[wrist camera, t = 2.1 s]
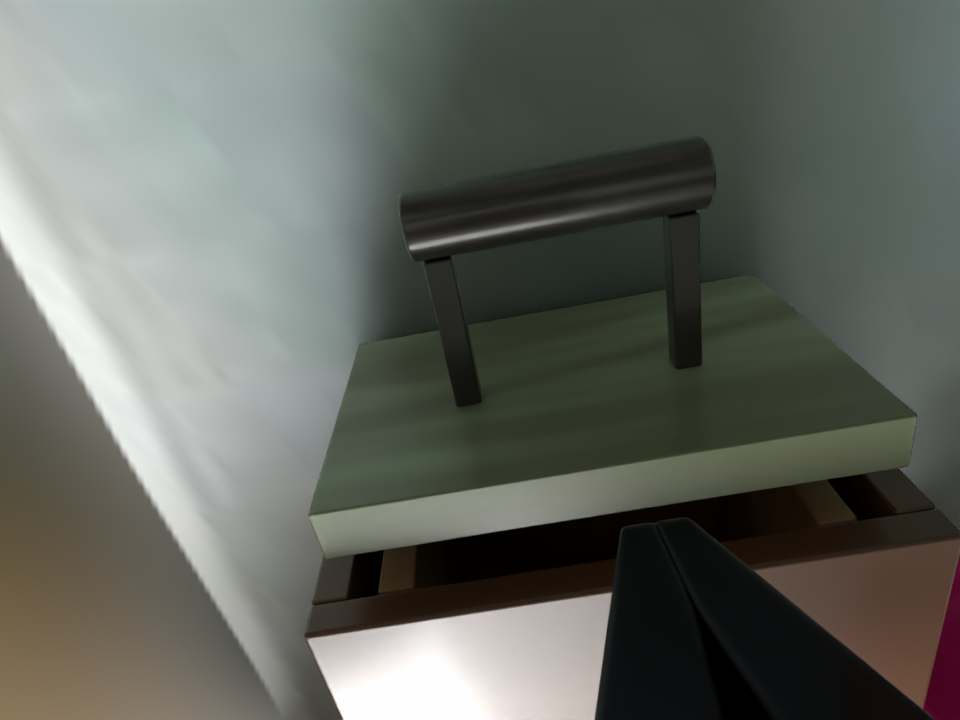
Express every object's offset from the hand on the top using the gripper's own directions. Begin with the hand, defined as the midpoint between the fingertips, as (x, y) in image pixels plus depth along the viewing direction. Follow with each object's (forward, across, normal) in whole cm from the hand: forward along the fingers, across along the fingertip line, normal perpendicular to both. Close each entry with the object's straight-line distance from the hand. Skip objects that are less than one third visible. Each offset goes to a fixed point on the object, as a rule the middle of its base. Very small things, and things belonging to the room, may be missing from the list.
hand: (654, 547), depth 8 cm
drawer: (+11, 0, +6) cm, 13 cm away
